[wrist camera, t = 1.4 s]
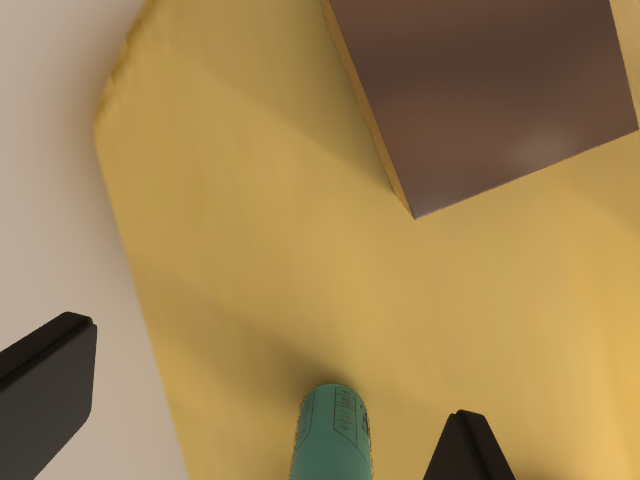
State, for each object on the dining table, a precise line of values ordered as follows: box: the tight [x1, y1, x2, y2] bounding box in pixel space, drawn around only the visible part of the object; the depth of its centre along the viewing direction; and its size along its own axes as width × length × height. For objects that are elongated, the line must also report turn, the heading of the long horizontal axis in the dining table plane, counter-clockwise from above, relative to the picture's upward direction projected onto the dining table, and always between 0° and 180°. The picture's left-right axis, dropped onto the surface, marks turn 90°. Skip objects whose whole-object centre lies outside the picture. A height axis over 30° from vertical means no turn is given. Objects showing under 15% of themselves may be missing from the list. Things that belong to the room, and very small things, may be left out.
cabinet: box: [322, 0, 639, 220], centre depth 24 cm, size 15×13×10 cm
